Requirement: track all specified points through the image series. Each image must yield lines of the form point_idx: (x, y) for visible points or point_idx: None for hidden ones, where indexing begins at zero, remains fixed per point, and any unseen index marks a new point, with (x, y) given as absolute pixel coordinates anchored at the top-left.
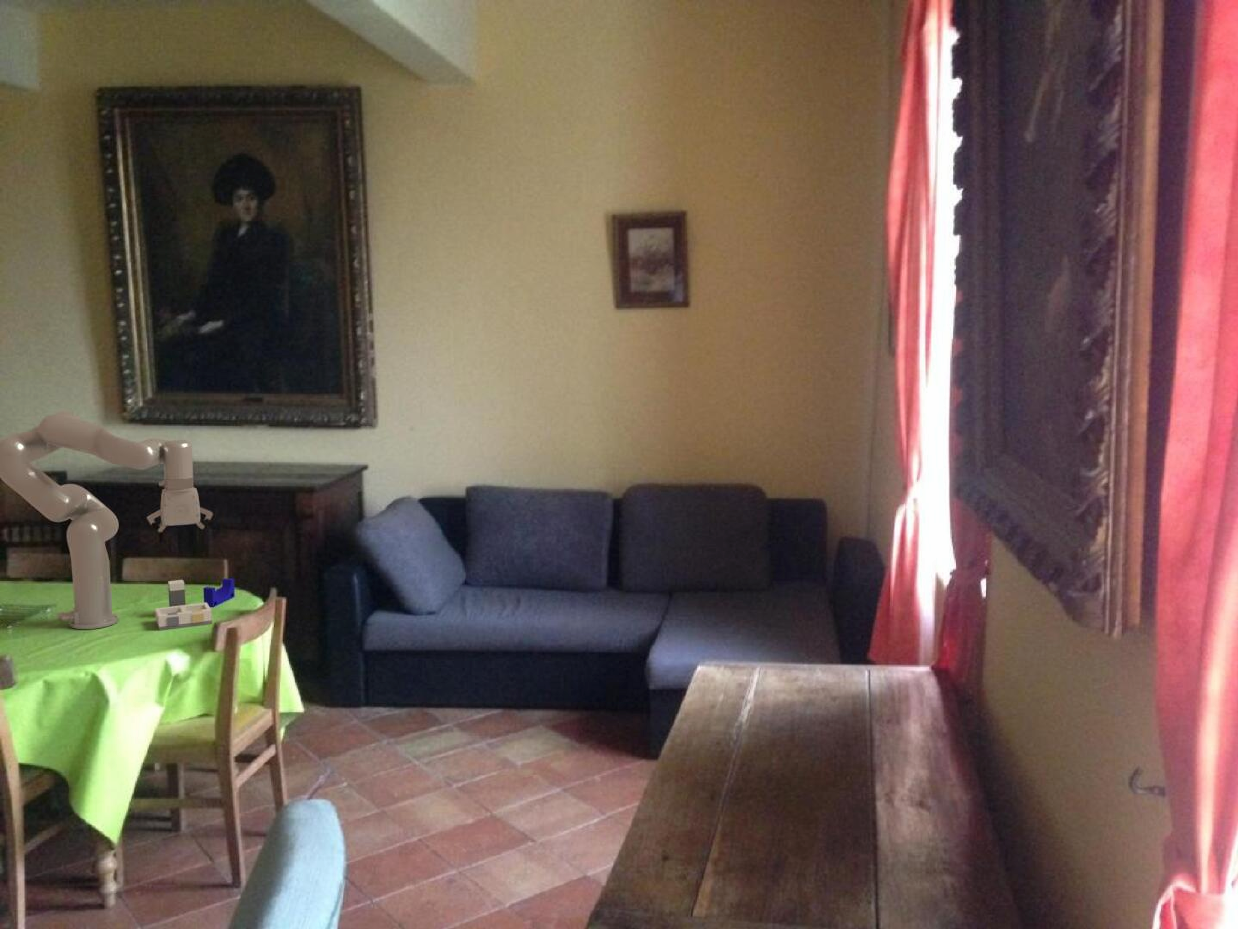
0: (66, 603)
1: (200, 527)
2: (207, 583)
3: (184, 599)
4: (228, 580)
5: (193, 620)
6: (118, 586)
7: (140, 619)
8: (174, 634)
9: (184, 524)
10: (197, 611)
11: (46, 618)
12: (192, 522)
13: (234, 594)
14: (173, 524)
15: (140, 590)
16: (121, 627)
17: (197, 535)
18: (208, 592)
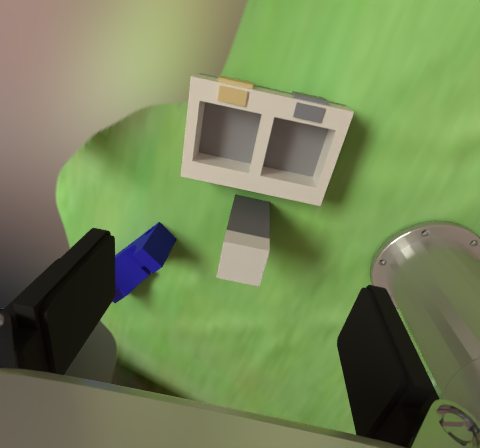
0: None
1: (1, 326)
2: (132, 371)
3: (232, 214)
4: None
5: (251, 82)
6: None
7: (332, 234)
8: (330, 29)
9: (175, 398)
10: (234, 88)
11: None
12: (34, 388)
13: None
14: (355, 442)
15: (248, 396)
16: (399, 199)
17: (92, 308)
18: (154, 250)
